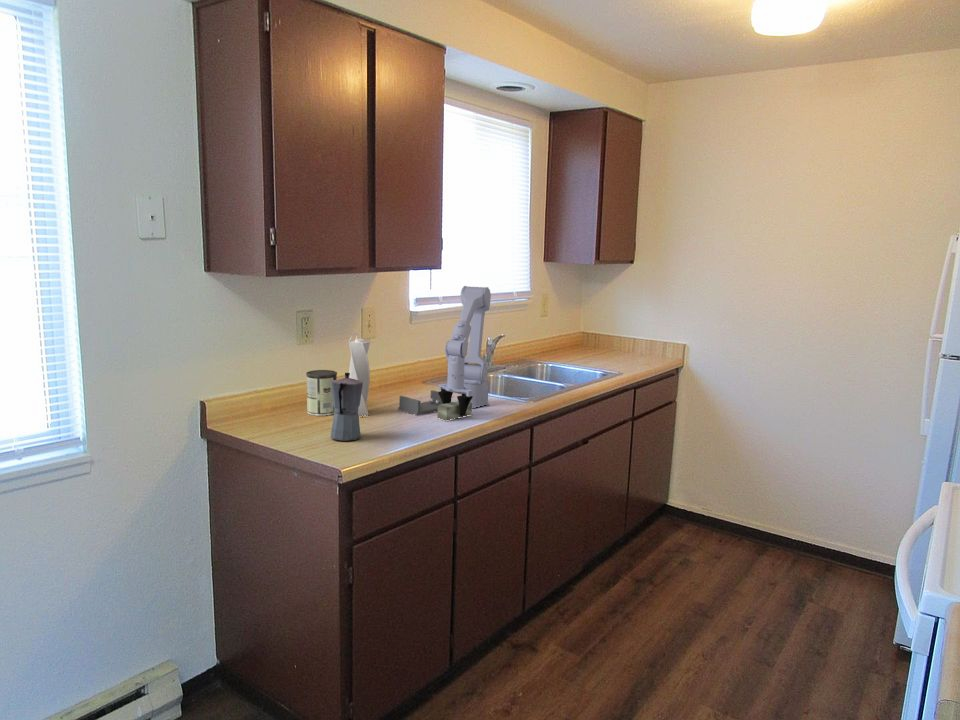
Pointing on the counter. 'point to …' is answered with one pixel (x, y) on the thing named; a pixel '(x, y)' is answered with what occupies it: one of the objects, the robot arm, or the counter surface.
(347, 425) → the moka pot
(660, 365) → the counter surface
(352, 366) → the skyscraper
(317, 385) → the coffee can
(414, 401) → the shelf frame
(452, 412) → the olive green rectangular block
